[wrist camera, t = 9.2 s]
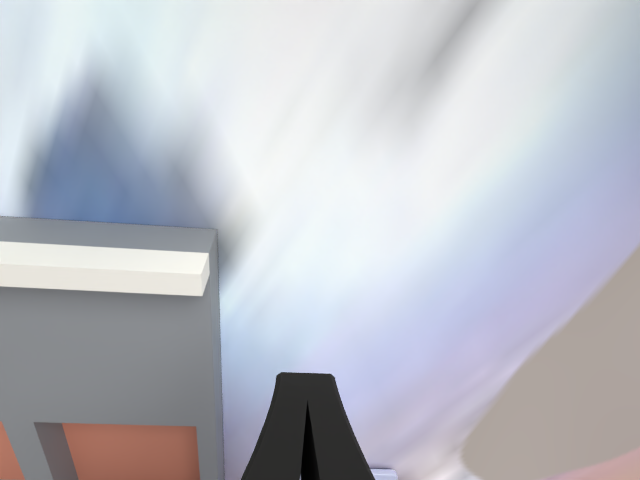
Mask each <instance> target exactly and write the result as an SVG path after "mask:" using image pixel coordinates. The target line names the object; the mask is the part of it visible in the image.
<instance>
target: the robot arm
mask: <svg viewBox="0 0 640 480" xmlns="http://www.w3.org/2000/svg"><path fill="white" fill-rule="evenodd" d="M241 480H398V476H397V472H396V471H394V470H391V469H370V468H369V466H368V464H367V462H366V459H365V457H364V455H363V453H362V451H361V448H360V446H359V444H358V442H357V439H356V437H355V435H354V433H353V430H352V428H351V425H350V423H349V420H348V418H347V415H346V412H345V410H344V407H343V404H342V401H341V398H340V395H339V392H338V389H337V385H336V381H335V377H334V376H332V375H331V374H318V373H287V372H281V373H280V374H278V375H277V377H276V384H275V389H274V394H273V398H272V401H271V405H270V408H269V411H268V414H267V417H266V420H265V423H264V426H263V428H262V431H261V433H260V436H259V439H258V441H257V444H256V446H255V449H254V451H253V454H252V456H251V459H250V461H249V463H248V465H247V467H246V469H245V472H244V474H243V476H242V478H241Z"/></svg>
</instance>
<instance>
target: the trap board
mask: <svg viewBox="0 0 640 480" xmlns="http://www.w3.org/2000/svg"><path fill="white" fill-rule="evenodd" d="M0 480H225V479H224V445H223V411H222V377H221V342H220V308H219V274H218V239H217V229H203V228H186V227H170V226H153V225H137V224H121V223H104V222H88V221H71V220H55V219H38V218H22V217H5V216H0Z"/></svg>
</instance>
